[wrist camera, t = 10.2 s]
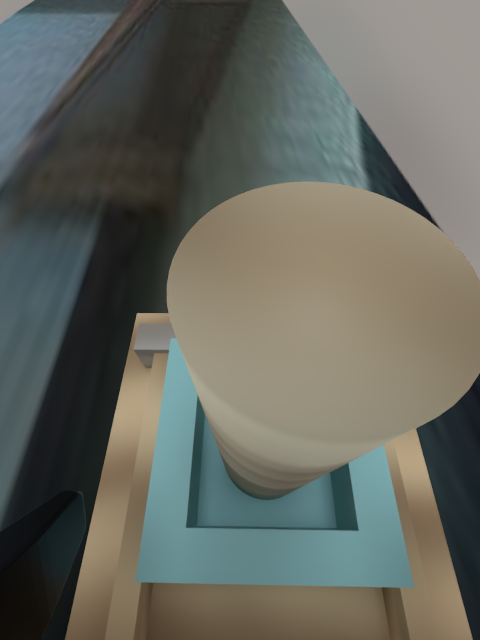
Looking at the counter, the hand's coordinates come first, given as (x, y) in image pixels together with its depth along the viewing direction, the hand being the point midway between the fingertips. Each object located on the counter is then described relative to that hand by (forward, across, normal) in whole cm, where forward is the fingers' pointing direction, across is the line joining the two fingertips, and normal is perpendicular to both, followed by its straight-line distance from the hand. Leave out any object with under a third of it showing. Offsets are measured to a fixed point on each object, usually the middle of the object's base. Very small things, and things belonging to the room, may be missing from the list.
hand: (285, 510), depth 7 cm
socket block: (+8, 0, +4) cm, 9 cm away
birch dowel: (+8, 0, +4) cm, 8 cm away
